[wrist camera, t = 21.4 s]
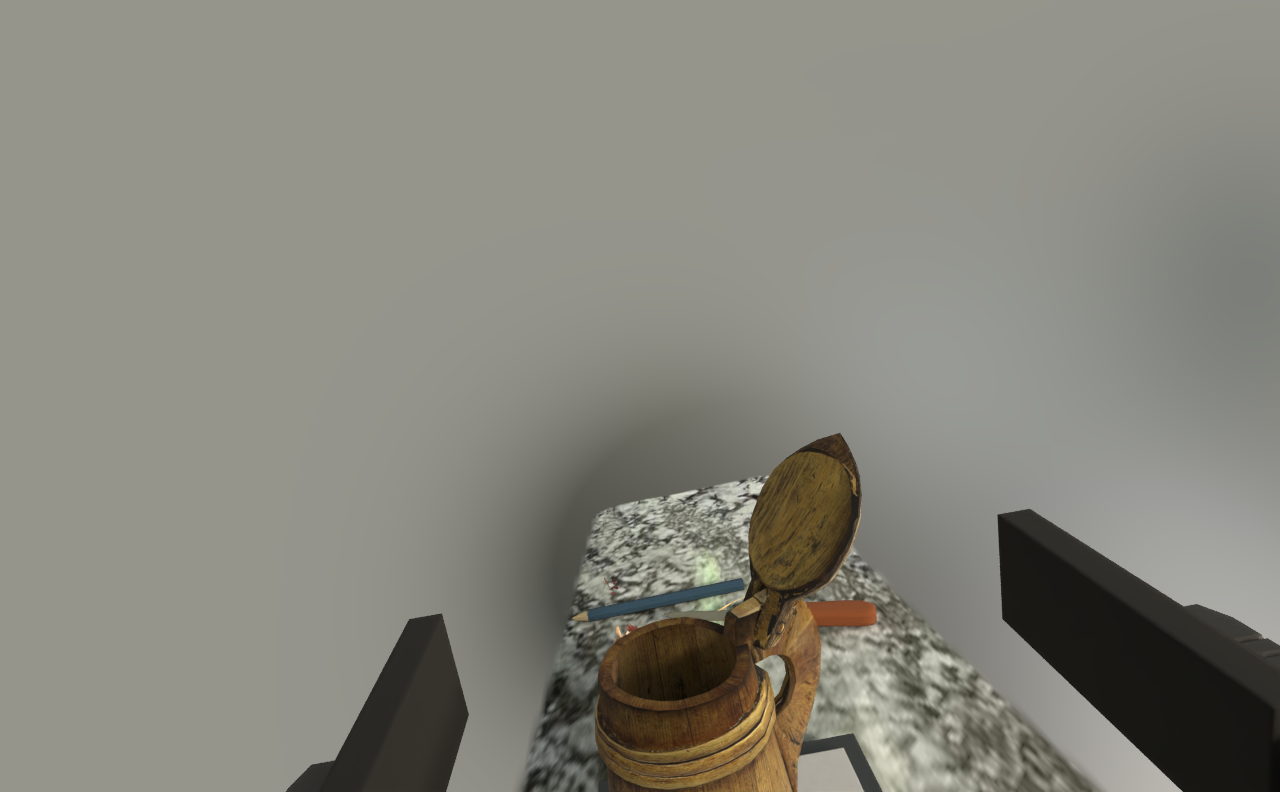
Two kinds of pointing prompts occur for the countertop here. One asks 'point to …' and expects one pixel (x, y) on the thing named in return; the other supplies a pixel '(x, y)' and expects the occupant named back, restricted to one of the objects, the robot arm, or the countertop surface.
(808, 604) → the kitchen knife
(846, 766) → the kitchen scale
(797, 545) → the wooden mug
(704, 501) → the countertop surface
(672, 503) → the countertop surface
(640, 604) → the pencil
